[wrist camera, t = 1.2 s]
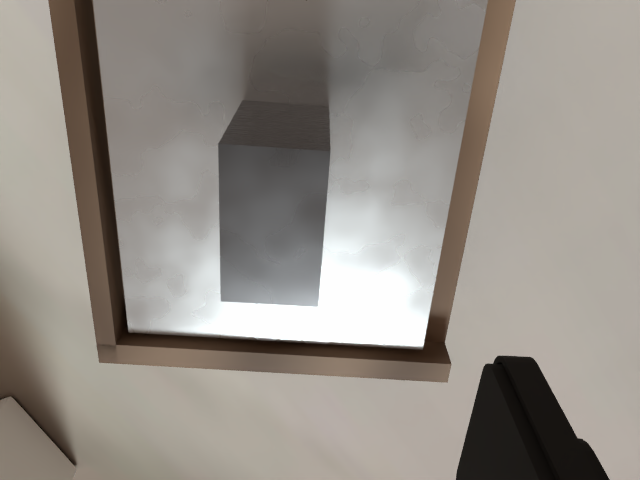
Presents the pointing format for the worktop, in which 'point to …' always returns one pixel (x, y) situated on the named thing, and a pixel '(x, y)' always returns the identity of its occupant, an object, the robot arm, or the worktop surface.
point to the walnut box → (243, 354)
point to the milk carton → (28, 448)
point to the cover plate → (366, 164)
